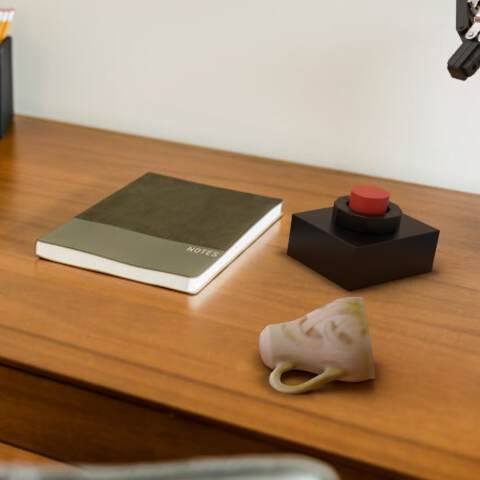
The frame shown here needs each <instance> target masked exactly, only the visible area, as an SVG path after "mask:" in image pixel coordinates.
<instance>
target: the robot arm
mask: <svg viewBox="0 0 480 480" xmlns="http://www.w3.org/2000/svg"><path fill="white" fill-rule="evenodd" d="M455 30H456V32H457V34H458V37H459V39H460V40H461V42H462V43H461V44H460V45H459V47H458V48H457V49H456V50H455V51H454V53H453V54H452V55H451V56H450V57H449V58H448V60H447V62H446V65H447V66H446V69H447V71H448V73H449V75H450V77H451V78H452V79H455V80H458V81H461V82H465V81H467V80H468V78H471V77H473V76H474V75H475V74H476V73H477V72H478V70H479V69H480V0H455Z"/></svg>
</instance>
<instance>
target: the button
mask: <svg viewBox="0 0 480 480" xmlns="http://www.w3.org/2000/svg"><path fill="white" fill-rule="evenodd" d="M349 195H350V200H349V208H350V209H352V210H354V211H357V212H362V213H366V214H384V213H387V208H388V203H389V201H390V196H391V193H390V192H389V191H388V190H386V189H384V188H383V187H379V186H375V185H374V186H373V185H365V184H361V185H355V186H353V187H351V189H350V194H349Z"/></svg>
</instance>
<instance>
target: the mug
mask: <svg viewBox="0 0 480 480" xmlns="http://www.w3.org/2000/svg"><path fill="white" fill-rule="evenodd" d="M258 348H259V353H260V358H261V360H262V362H263V363H264V365H265V366H267V368H269V369H271V370H272V372H270V374H269V378H268V383H269V385H270V386H271V387H272V388H273V389H274V390H276V391H278V392H280V393H284V394H288V395H289V394H290V395H300V394H304V393H306V392H309V391H311V390H313V389H315V388H317V387H319V386H322V385H324V384H327V383H329V382H334V381H341V382H347V383H357V382H363V381H368V380H374V379H375V378H376V369H375V362H374V355H373V349H372V348H373V347H372V342H371V335H370V329H369V323H368V317H367V311H366V306H365V302H364V298H363V297H362V296H346V297H340V298H337V299H333V300H332V301H329V302H327V303H325V304H323V305H321V306H319V307H318V308H316V309H314V310H312V311H311V312H308V313H307V314H305V315H303V316H301V317H299V318H296V319H293V320H290V321H285V322H279V323H271V324H268V325H266V326H265V327H264V328H263V330H262V331H261V332H260V334H259V338H258ZM292 370H297V371H304V372H309V373H312V374H314V375H315V374H316V375H317V376H315V377H313V378H311V379H309V380H307V381H305V382H303V383H300V384H297V385H288V384H284V383H282V381H281V377H282V374H283V373H286V372H289V371H292Z"/></svg>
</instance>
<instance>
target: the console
mask: <svg viewBox="0 0 480 480" xmlns="http://www.w3.org/2000/svg"><path fill="white" fill-rule="evenodd" d="M349 200H350V194H347V195H341V196H339V197H337V198H336V199H335V200H334V201H333V206H328V207H323V208H316V209H311V210H306V211H300V212H296V213H295V212H294V213H292V214H291V220H290V227H289V233H288V234H289V235H288V243H287V248H286V249H287V250H286V256H288V257H290V258H291V259H293V260H294V261H296V262H298V263H299V264H301V265H303V266H304V267H306V268H308V269H310V270H312V271H313V272H315V273H317V274H318V275H320V276H322V277H323V278H325V279H327V280H328V281H330V282H331V283H334V284H335V285H337V286H338V287H340V288H342V289H343V290H344V291H346V292H348V293H349V292H355V291H358V290H361V289H366V288H370V287H374V286H379V285H382V284H386V283H391V282H395V281H400V280H404V279H409V278H412V277H416V276H420V275H424V274H429V273H432V271H433V267H434V262H435V257H436V252H437V248H438V243H439V238H440V234H441V230H440V229H438V228H436V227H434V226H432V225H430V224H427V223H425V222H423V221H421V220H419V219H417V218H415V217H413V216H410V215H408V214H406V213H405V212H403V210H402V208H401V207H400V205H398V204H396V203H394V202H392V201H390V200H389V203H388V208H387V213H384V214H366V213H362V212H357V211H354V210H352V209H350V208H349Z"/></svg>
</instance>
